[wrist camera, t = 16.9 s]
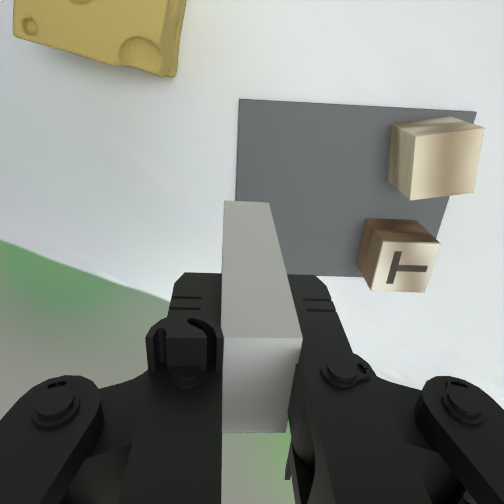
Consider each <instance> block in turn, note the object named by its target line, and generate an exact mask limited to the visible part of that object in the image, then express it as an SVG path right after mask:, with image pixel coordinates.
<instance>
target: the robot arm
mask: <svg viewBox="0 0 504 504" xmlns="http://www.w3.org/2000/svg"><path fill="white" fill-rule="evenodd" d="M145 339H146V350H147V360H148V370H147V371H146V372H144V373H143V374H141V375H140V376H138V377H136V378H134V379H132V380H129V381H126V382H123V383H120V384H116V385H112V386H109V387H104V388H101V389H98V388H97V386H96V385H95V384H94V382H93V381H91V380H89V379H87V378H84V377H82V376H71V375H70V376H69V375H64V376H60V377H56V378H52V379H48V380H46V381H44V382H42V383H40V384H38V385H36V386H34V387H33V388H31V389H30V390H29V391H28V392H27V393H26V394H25V395H23V396H22V397H21V398H20V399H19V400H18V401H17V402H16V403H15V404H14V405H13V407H12V408H11V409H10V410H9V411H8V412H7V413H6V415H5V416H4V417H3V418H2V419H1V420H0V504H221V469H222V459H221V458H222V433H285V432H286V428H287V423H288V419H289V425H290V432H291V444H290V448H289V453H288V459H287V464H286V470H285V480H290V476H291V475H292V483H293V490H294V495H295V496H294V497H295V504H504V410H503V409H502V408H501V407H500V406H499V405H498V404H497V403H496V402H495V401H494V400H493V399H492V398H491V397H490V396H489V395H488V394H486V393H485V392H484V391H482V390H481V389H480V388H479V387H477V386H475V385H473V384H471V383H469V382H467V381H465V380H462V379H459V378H455V377H451V376H436V377H434V378H432V379H430V380H428V381H427V382H426V383H425V385H424V387H423V389H422V390H418V389H414V388H410V387H407V386H403V385H399V384H395V383H392V382H389V381H386V380H383V379H381V378H379V377H377V376H376V374H375V372H374V371H373V370H372V368H371V367H370V365H369V364H368V363H367V362H366V361H365V360H363V359H362V358H361V357H360V356H358V355H356V354H354V353H353V352H352V349H351V347H350V344H349V342H348V339H347V337H346V334H345V332H344V329H343V327H342V324H341V322H340V319H339V316H338V314H337V312H336V309H335V306H334V304H333V301H331V296H330V294H329V291H328V289H327V286H326V285H325V284H324V283H323V282H322V281H321V280H320V279H318V278H317V277H316V276H315V275H300V274H287V273H286V269H285V265H284V261H283V257H282V253H281V249H280V245H279V241H278V237H277V233H276V229H275V225H274V221H273V217H272V213H271V209H270V205H269V202H247V201H224V217H223V244H222V272H221V273H186V272H185V273H184V274H183V275H182V276H181V277H180V278H179V279H178V280H177V281H176V282H175V283H174V288H173V293H172V299H171V302H170V306H169V311H168V316H167V318H164V319H161V320H160V321H159V322H157V323H156V324H155V325H153V327H151V328H150V330H149V332H148V334H147V335H146V337H145Z"/></svg>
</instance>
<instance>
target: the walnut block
mask: <svg viewBox="0 0 504 504" xmlns="http://www.w3.org/2000/svg"><path fill="white" fill-rule="evenodd" d="M440 246H441V243H439V242H438V241H437V240H436V239H435V238H434V237H433V236H432V235H431V234H430V233H429V232H428V231H427V230H426V229H425V228H424V227H423V226H422V225H421V224H420V223H419V222H418V221H417V220H402V219H376V218H366V219H365V224H364V229H363V233H362V238H361V242H360V247H359V252H358V256H357V261H356V264H357V266H358V268H359V269H360V271H361V273H362V275H363V277H364V279H365V280H366V282H367V284H368V286H369V288H370V290H371V291H390V292H425V290H426V287H427V284H428V281H429V278H430V275H431V272H432V269H433V266H434V263H435V260H436V257H437V254H438V252H439V249H440Z"/></svg>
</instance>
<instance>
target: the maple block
mask: <svg viewBox="0 0 504 504" xmlns="http://www.w3.org/2000/svg"><path fill="white" fill-rule="evenodd" d="M484 129H485V128H483V127H481V126H478V125H475V124H472V123H469V122H466V121H463V120H460V119H457V118H454V117H443V118H435V119H428V120H420V121H412V122H405V123H397V124H391V138H390V156H389V173H388V181H389V182H390V183H391V184H392V185H393V186H394V187H396V188H397V189H398V190H399V191H400V192H401V193H402V194H403V195H404V196H406V197H407V198H408V199H409V200H418V199H426V198H434V197H442V196H450V195H459V194H467V193H473V192H474V186H475V180H476V175H477V169H478V163H479V157H480V152H481V146H482V140H483V135H484Z"/></svg>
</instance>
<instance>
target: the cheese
mask: <svg viewBox="0 0 504 504" xmlns="http://www.w3.org/2000/svg"><path fill="white" fill-rule="evenodd" d="M185 6H186V0H14V9H13V35H14V36H15V37H17V38H21V39H24V40H27V41H31V42H35V43H38V44H42V45H46V46H49V47H53V48H57V49H60V50H64V51H67V52H71V53H74V54H78V55H81V56H84V57H87V58H90V59H93V60H96V61H99V62H102V63H105V64H108V65H112V66H128V67H132V68H136V69H139V70H142V71H145V72H148V73H150V74H153V75H156V76H159V77H165V76H168V77H175V75H176V72H177V64H178V52H179V41H180V34H181V28H182V23H183V17H184V11H185Z"/></svg>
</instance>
